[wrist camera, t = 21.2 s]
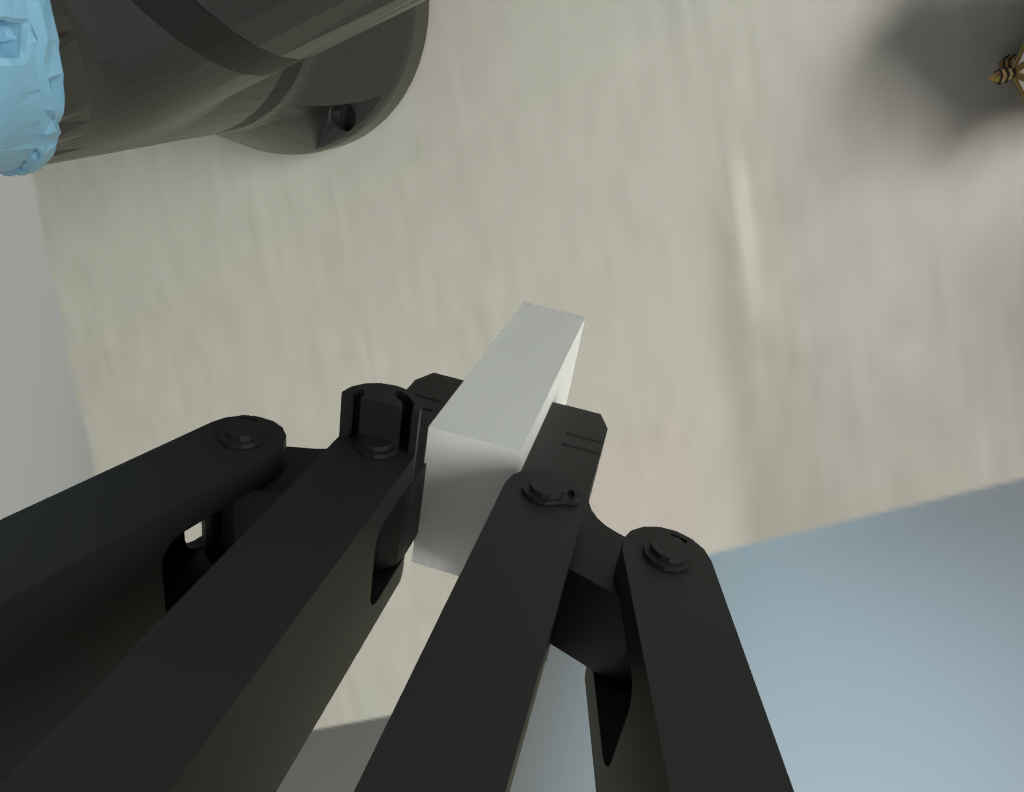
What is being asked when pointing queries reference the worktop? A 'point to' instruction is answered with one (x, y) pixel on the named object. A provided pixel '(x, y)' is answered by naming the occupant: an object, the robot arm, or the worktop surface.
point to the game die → (1011, 71)
